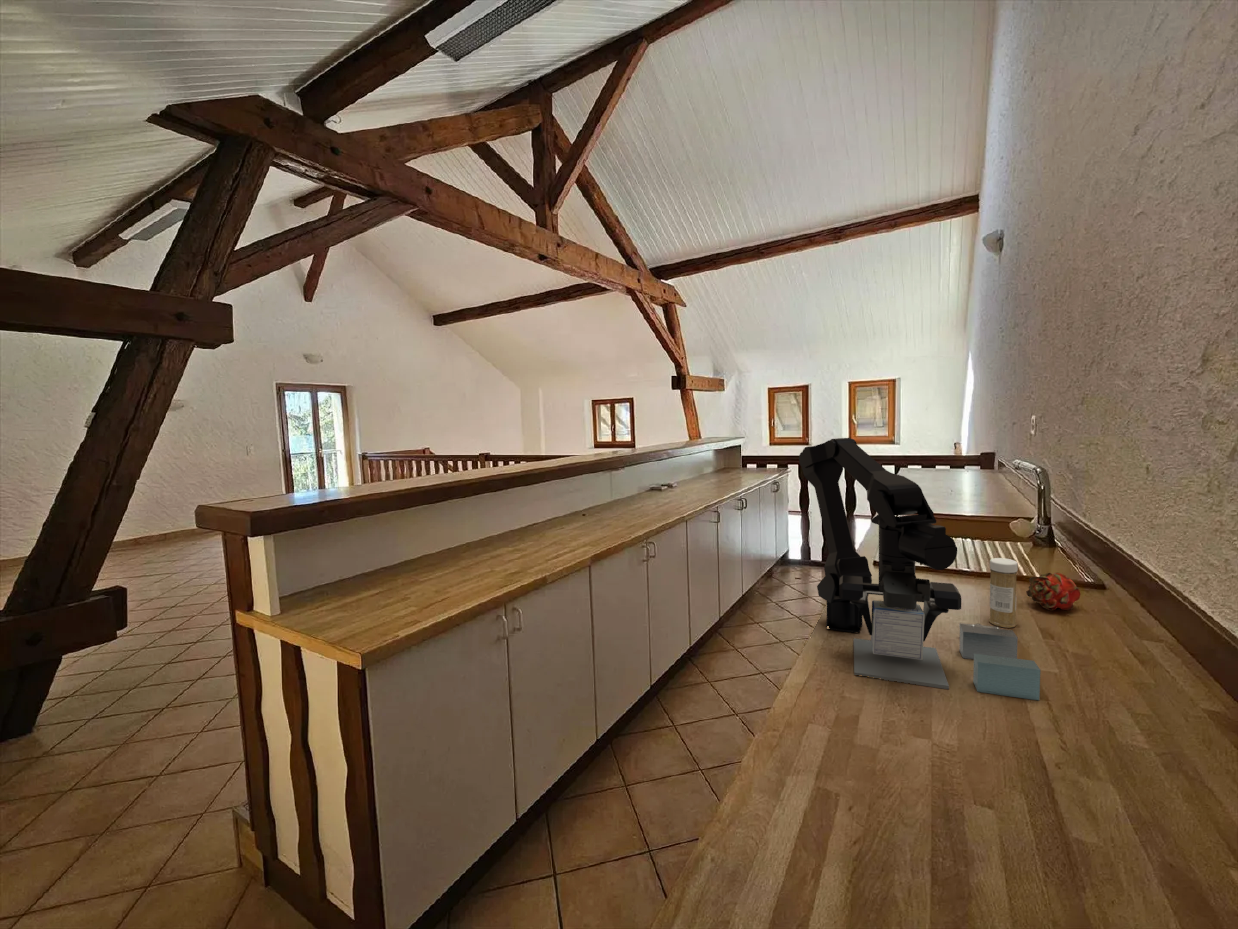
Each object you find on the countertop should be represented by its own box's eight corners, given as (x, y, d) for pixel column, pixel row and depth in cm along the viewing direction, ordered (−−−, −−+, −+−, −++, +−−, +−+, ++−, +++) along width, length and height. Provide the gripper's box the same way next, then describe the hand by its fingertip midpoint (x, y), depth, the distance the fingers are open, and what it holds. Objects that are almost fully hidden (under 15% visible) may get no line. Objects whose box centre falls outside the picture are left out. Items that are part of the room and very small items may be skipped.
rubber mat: (854, 675, 90) (854, 672, 90) (853, 641, 103) (853, 638, 102) (948, 689, 84) (948, 686, 84) (935, 651, 97) (935, 648, 97)
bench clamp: (977, 691, 83) (978, 662, 83) (953, 636, 102) (953, 611, 102) (1039, 700, 80) (1040, 669, 79) (1002, 641, 99) (1002, 616, 99)
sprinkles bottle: (1019, 624, 106) (1021, 560, 105) (1010, 630, 103) (1012, 565, 102) (994, 617, 110) (995, 555, 108) (984, 623, 107) (985, 560, 106)
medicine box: (918, 649, 94) (920, 603, 93) (923, 661, 90) (925, 613, 89) (870, 643, 97) (871, 599, 96) (872, 655, 92) (874, 608, 91)
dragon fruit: (1038, 621, 110) (1055, 614, 117) (1082, 607, 105) (1097, 600, 112) (1012, 584, 114) (1030, 579, 121) (1053, 568, 109) (1070, 564, 116)
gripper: (838, 562, 88) (838, 650, 89) (969, 571, 80) (967, 667, 82) (839, 545, 98) (840, 624, 100) (955, 551, 90) (954, 637, 92)
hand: (896, 637), depth 93 cm, fingers closed on medicine box, 8 cm apart
